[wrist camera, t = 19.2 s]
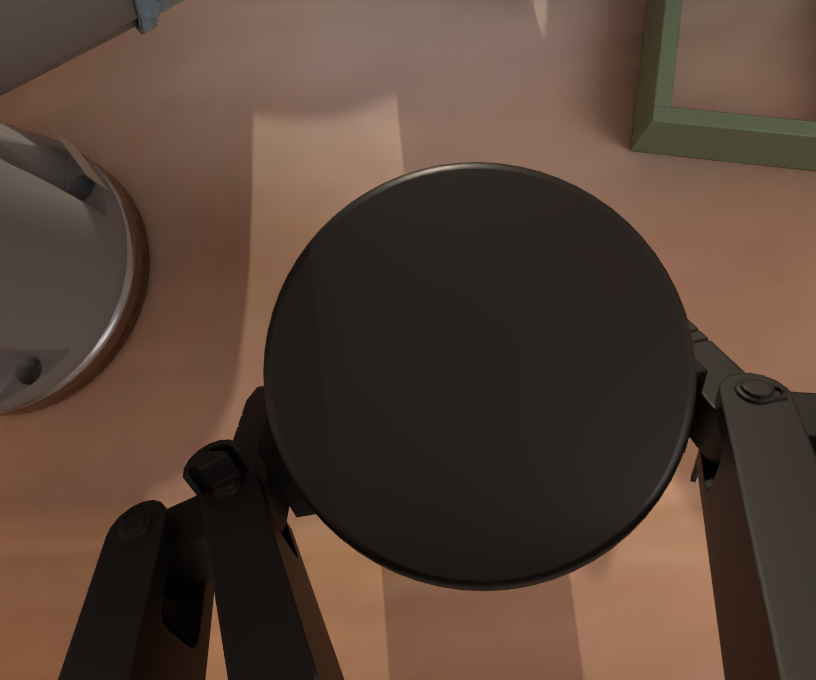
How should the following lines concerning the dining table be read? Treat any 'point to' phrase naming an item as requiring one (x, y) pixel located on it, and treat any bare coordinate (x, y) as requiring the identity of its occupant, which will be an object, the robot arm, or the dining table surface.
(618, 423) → the jar
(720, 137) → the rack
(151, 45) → the dining table surface
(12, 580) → the dining table surface
